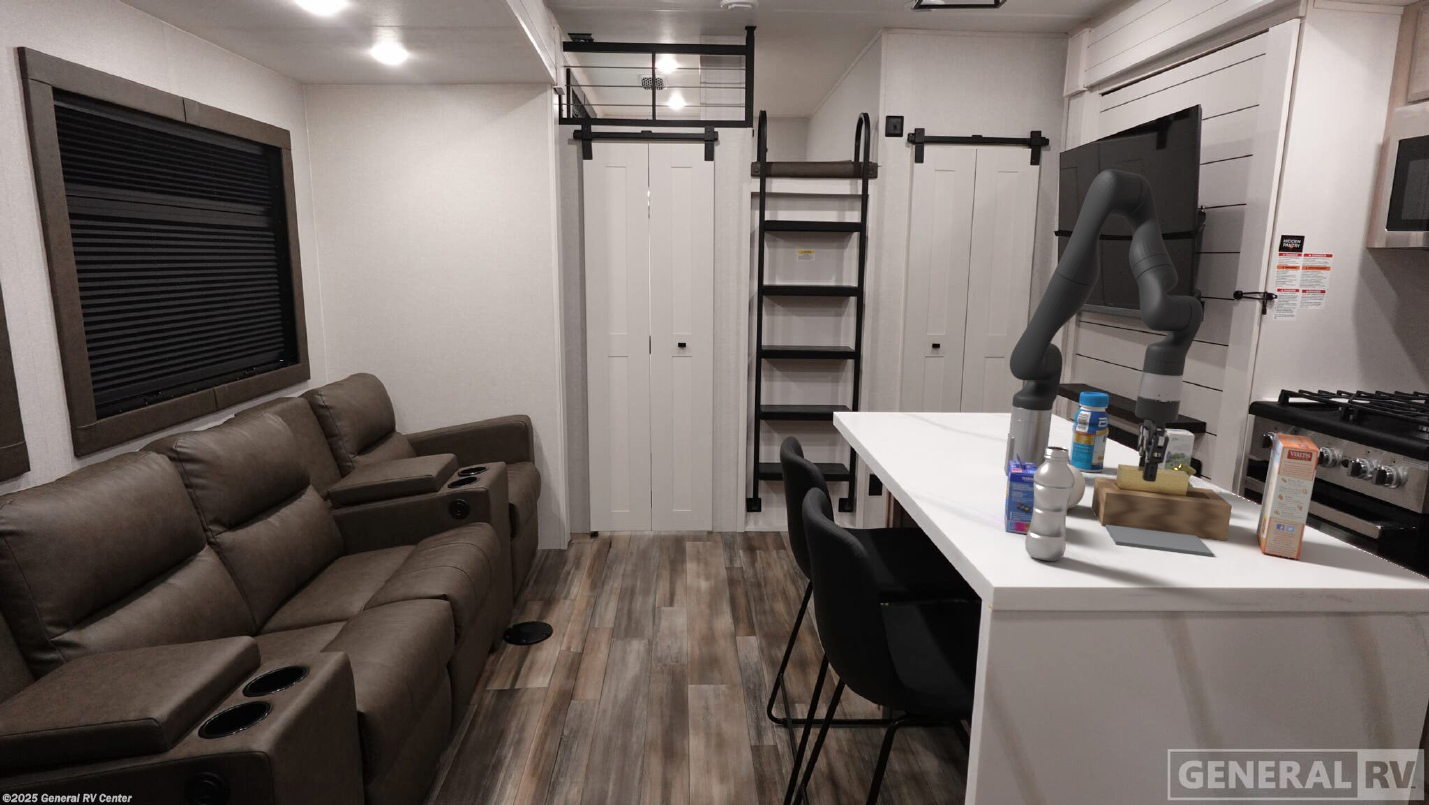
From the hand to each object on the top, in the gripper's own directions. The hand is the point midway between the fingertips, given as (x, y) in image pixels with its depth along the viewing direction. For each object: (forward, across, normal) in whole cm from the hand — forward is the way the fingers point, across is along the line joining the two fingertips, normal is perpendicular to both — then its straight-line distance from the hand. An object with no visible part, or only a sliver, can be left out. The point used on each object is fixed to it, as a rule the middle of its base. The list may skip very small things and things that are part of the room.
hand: (1146, 477), depth 155 cm
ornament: (+10, -3, -16) cm, 19 cm away
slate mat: (+9, +12, 0) cm, 15 cm away
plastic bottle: (+10, +30, -22) cm, 38 cm away
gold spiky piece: (+10, -14, +10) cm, 20 cm away
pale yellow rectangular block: (+4, 0, +1) cm, 4 cm away
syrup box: (+10, -30, +12) cm, 34 cm away
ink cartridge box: (+10, +13, -25) cm, 30 cm away
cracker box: (+9, +6, +22) cm, 25 cm away
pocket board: (+9, 0, +3) cm, 10 cm away
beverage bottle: (+10, -43, -4) cm, 44 cm away
